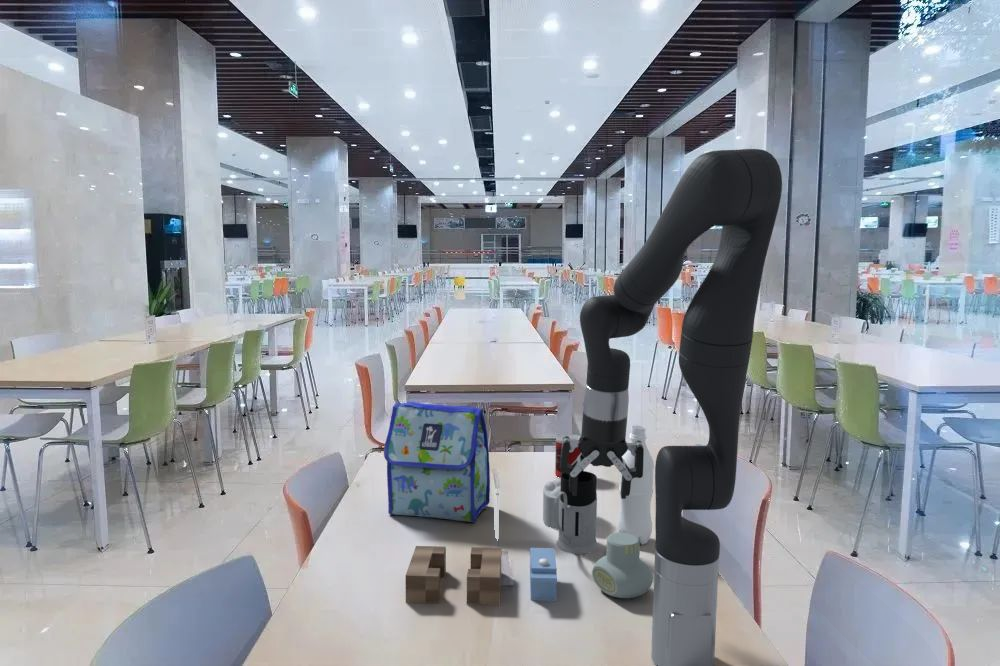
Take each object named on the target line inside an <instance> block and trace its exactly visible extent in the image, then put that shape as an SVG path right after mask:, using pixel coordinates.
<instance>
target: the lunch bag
mask: <svg viewBox="0 0 1000 666" xmlns="http://www.w3.org/2000/svg"><path fill="white" fill-rule="evenodd" d="M487 431H488V430H487V425H486V418H485V415H484V410H483V408H481V407H480V408H479V407H476V406H475V407H474V406H468V405H465V406H464V405H463V406H461V405H460V406H458V405H457V406H455V405H444V404H433V403H432V404H431V403H421V402H415V401H407V402H402V403H399V402H396V403H394V405H392V411H391V415H390V421H389V427H388V431H387V436H386V439H385V442H384V448H383V457H384V459H385V461H386V477H387V479H386V481H387V483H386V484H387V498H388V500H387V502H388V515H395V516H409V517H411V516H414V517H416V516H417V517H421V518H435V519H444V520H453V521H457V522H458V521H459V522H469V523H470V522H471V523H476V521H477V517H478V516H479V514H480V513H481V512H482V511H483V509H484V508H486V507H487V506H489V503H490V501H491V500H490V495H491V494H490V493H491V492H490V491H491V480H490V479H491V478H490V475H491V474H490V473H491V472H490V471H491V470H490V469H491V468H490V457H489V456H490V452H489V441H488V440H489V439H488V432H487Z"/></svg>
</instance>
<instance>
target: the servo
mask: <svg viewBox="0 0 1000 666" xmlns="http://www.w3.org/2000/svg"><path fill="white" fill-rule="evenodd" d="M529 552H530V553H529V554H530V555H529V558H530V559H529V564H530V565H529V584H530V585H529V589H530V590H529V591H530V593H529V594H530V600H531V601H557V582H558V574H557V569H558V568H557V561H556V552H555V548H552V547H548V548H547V547H545V548H544V547H530V548H529Z"/></svg>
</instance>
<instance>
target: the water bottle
mask: <svg viewBox="0 0 1000 666" xmlns="http://www.w3.org/2000/svg"><path fill="white" fill-rule="evenodd" d="M638 440H639V441H641V442H642V445H643V449H644V456H643V476H642V477H641V478H637V477H636V478H633V479H632V480H631V488H630V494H629V496H626V499H622V498H621V482H622V474H621V472H619V486H618V491H619V496H620V511H619V516H618V520H617V530H618V532H617V533H628V534H632V535H634V536H636V537H637V538H638V539H639V540H640V545H646V544H647V543H648V542H649V540H650V538H651V536H652V531H653V522H652V521H653V520H652V513H651V506H652V505H651V504H652V503H651V502H652V498H653V494H654V470H655V464H654V460H653V456H652V455H651V453H650V450H649V448H648V447H647V444H646V440H647V435H646V426H644V425H638V424H634V425H631V426H630V433H629V443H635V442H636V441H638ZM622 458H623V459H624V461H625V463H626V464H627V466H628V467H629V468H634V461H635V456H633V455H632V454H631V451H629V450H627V452H626V453H625V454H624V455H623V456H622Z"/></svg>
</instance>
